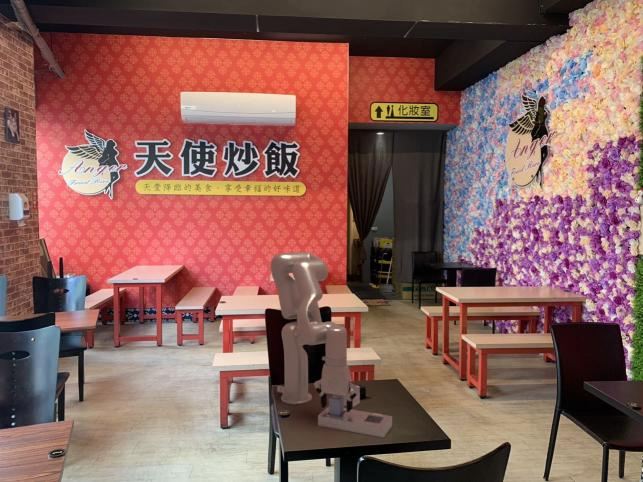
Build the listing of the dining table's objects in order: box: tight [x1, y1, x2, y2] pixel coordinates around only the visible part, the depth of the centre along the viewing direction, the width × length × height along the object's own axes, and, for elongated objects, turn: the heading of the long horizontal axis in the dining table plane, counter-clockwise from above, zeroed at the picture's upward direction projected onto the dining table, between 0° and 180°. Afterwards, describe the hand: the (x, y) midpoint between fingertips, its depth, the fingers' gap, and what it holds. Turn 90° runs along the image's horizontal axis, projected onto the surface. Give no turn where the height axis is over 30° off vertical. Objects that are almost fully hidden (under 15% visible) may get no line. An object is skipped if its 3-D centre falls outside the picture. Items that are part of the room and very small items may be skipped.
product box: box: [344, 384, 361, 408], centre depth 185 cm, size 6×6×7 cm
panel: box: [317, 405, 393, 439], centre depth 165 cm, size 24×10×4 cm, turn 65°
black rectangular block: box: [355, 383, 373, 401], centre depth 195 cm, size 12×7×5 cm, turn 32°
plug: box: [328, 394, 345, 417], centre depth 168 cm, size 4×4×10 cm
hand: (336, 408), depth 168 cm, fingers open, 9 cm apart
